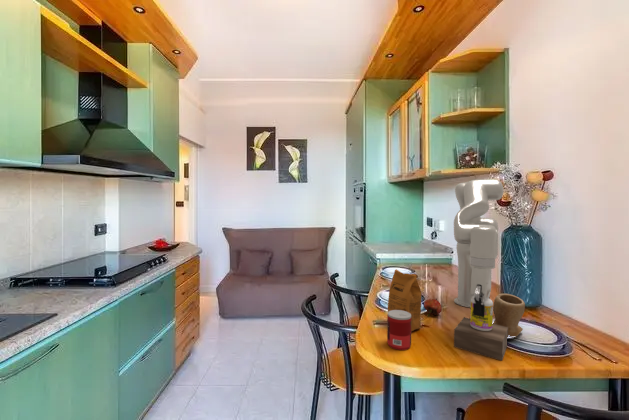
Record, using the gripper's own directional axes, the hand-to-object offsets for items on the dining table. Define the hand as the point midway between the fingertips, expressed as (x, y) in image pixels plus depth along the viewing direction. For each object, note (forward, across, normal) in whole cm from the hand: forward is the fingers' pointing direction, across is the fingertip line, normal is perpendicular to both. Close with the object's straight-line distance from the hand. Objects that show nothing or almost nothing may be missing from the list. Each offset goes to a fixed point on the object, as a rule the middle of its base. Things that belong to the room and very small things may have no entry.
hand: (481, 311), depth 101 cm
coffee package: (+12, +2, -27) cm, 30 cm away
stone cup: (+12, -16, +6) cm, 21 cm away
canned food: (+12, +18, -22) cm, 31 cm away
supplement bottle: (+6, 0, 0) cm, 6 cm away
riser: (+12, 0, 0) cm, 12 cm away
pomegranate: (+12, -18, -22) cm, 31 cm away
